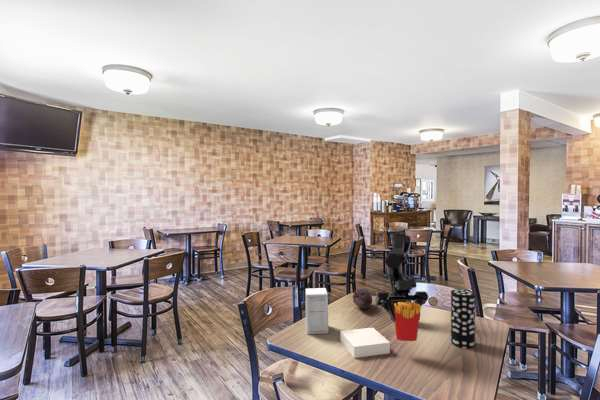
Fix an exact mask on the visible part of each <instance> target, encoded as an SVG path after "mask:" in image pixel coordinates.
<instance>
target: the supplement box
mask: <svg viewBox="0 0 600 400" xmlns="http://www.w3.org/2000/svg"><path fill="white" fill-rule="evenodd" d="M304 295H305V331H306V334H307V335H318V334H319V335H320V334H323V335H324V334H325V335H326V334H329V301H328V300H329V298H328V297H329V295H328V291H327V288H326V287H318V288H317V287H316V288H305V294H304Z"/></svg>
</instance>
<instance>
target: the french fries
mask: <svg viewBox="0 0 600 400" xmlns="http://www.w3.org/2000/svg"><path fill="white" fill-rule="evenodd" d="M397 304H398V306H397V305H396V303H394V306H395V311H394V314H395V319H396V320H395V321H394V329H395V338H396V339H397V340H399V341H401V342H402V341H403V342H415V341H417V340H418V331H419V323H420V322H419V321H420V320H419V316H420V317H421V309H422V306H421V305H419V304H416V303H414V302H413V301H411V302H410V301H409V302H408V301H406V303H405V302H401V303H400V302H397ZM419 312H420V313H419Z"/></svg>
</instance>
